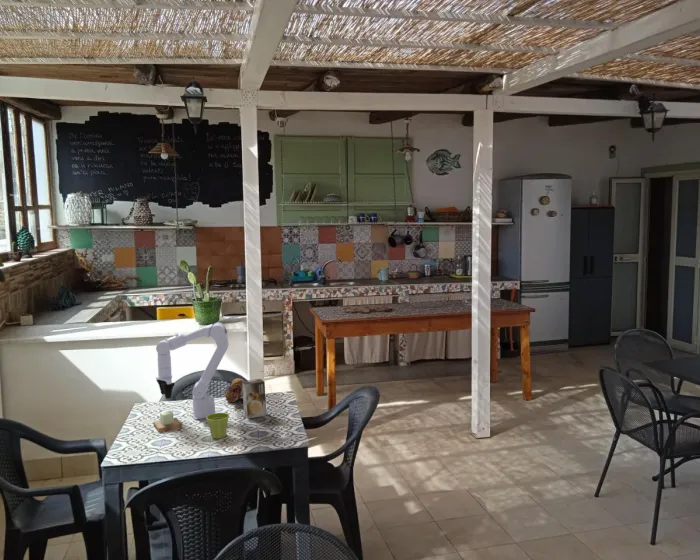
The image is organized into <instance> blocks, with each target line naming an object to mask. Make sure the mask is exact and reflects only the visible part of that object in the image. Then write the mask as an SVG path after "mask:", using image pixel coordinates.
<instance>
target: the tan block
mask: <svg viewBox="0 0 700 560" xmlns="http://www.w3.org/2000/svg"><path fill="white" fill-rule="evenodd" d="M173 420H174V423H172V424H167V425H163V424H162V423H161V421H160V420H156V421H153V427H154V428H155V430H156V431H157V433H158V432H160V433H164V432H163V431H165V432H170V431H175V430H174V429H176V430H180V429H179V428H181V429H183V423H182V422H181V421H180V420H179V419H178V417H173ZM169 430H170V431H169Z"/></svg>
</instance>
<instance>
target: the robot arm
mask: <svg viewBox="0 0 700 560" xmlns="http://www.w3.org/2000/svg"><path fill="white" fill-rule="evenodd" d="M201 337H206V338H210V337H211V338H212V339H213V340H214V342H215V345H216V348H215V350H214V352H213V354H212V355H211V357H210V360H209V361H208V363H207V365H206V367H205V369H204V371H203V373H202V375H201V376H200V379H198V380H197V381H196V382H195V384H194V387H193V389H192V391H191V394H192V408H193V409H192V410H193V411H192V413H191V414H190V416H191V417H192V418H193V419H195V420H196V421H197V420H202V419H206V417H207V416H208V415H210V414H214V413H216V405H215V404H216V403H215V399H214V396H213V395H210V394H208V393H207V391H208V389H209V385H210V382H211V380H212V379H213V377H214V375H215V373H216V371H217V369H218V367H219V365H220V363H221V361H222V360H223V358H224V356H225V354H226V353H227V350H228V348H229V345H230V344H229V336H228V330H227V328H226V325H225V324H224V323H223V322H219V321H218V322H214V323H211V324H208V325H205V326H202V327H201V328H197V329H195V330H193V331H191V332H188V333H186V334H183V333H178V332H177V333H176V334H175V335H174V336H170V337H169V338H168V337H166V338H164V339H163V340H160V341H159V342H158V343H157V345H156V347H155V350H156V353H157V372H158V374H157V375H158V376H156V377H155V379H156V382H157V384H158V386H159V391H160V394H161V396H162V395H164V397H165V399H167V400H168V399H171V398H172V393H173V388H174V386H176V385H175V382H172V378H173V375H172V359H171V358H172V357H171V351H174V350H178V349H180V348H182V347H184V346H186V345H187V343H188V342H190V341H193V340H195V339H198V338H201Z"/></svg>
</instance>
